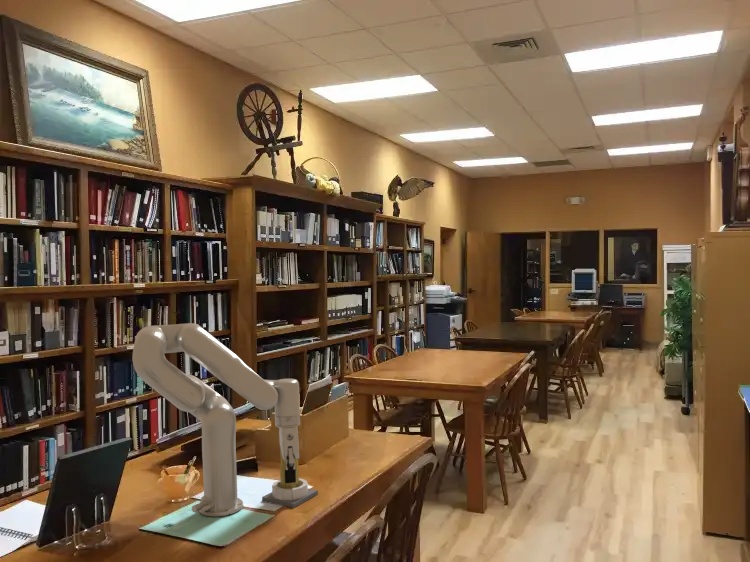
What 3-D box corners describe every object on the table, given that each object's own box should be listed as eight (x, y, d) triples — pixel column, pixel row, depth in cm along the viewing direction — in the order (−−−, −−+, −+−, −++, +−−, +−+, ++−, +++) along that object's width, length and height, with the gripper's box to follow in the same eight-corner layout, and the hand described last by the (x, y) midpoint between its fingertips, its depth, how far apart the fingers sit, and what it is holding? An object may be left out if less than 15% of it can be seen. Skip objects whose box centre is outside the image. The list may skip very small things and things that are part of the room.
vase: (289, 496, 185) (288, 448, 185) (275, 492, 189) (274, 445, 189) (304, 490, 190) (302, 443, 190) (289, 486, 194) (288, 440, 194)
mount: (293, 507, 182) (293, 493, 181) (262, 501, 188) (261, 487, 187) (317, 494, 192) (317, 480, 192) (287, 488, 198) (286, 475, 198)
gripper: (303, 425, 182) (305, 487, 182) (296, 412, 198) (297, 469, 199) (278, 428, 180) (279, 490, 180) (272, 414, 196) (274, 471, 197)
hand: (289, 478), depth 190 cm, fingers closed on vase, 5 cm apart
